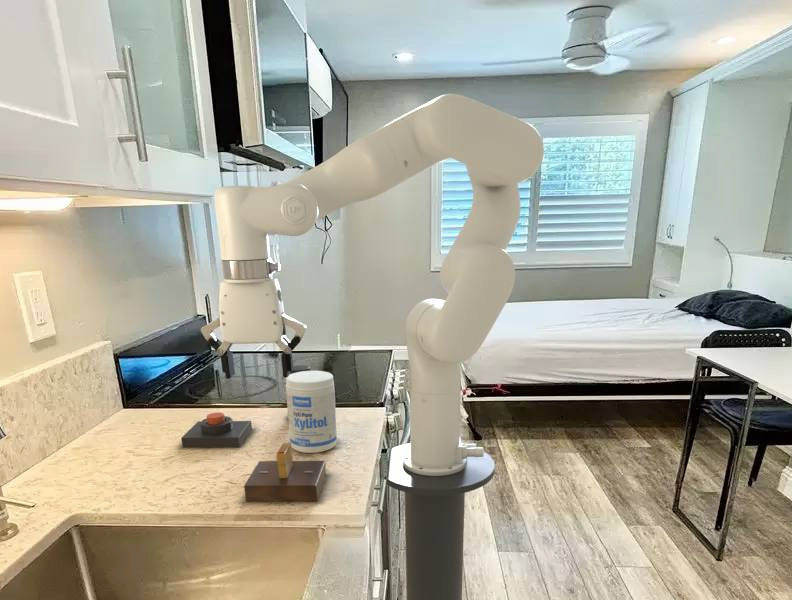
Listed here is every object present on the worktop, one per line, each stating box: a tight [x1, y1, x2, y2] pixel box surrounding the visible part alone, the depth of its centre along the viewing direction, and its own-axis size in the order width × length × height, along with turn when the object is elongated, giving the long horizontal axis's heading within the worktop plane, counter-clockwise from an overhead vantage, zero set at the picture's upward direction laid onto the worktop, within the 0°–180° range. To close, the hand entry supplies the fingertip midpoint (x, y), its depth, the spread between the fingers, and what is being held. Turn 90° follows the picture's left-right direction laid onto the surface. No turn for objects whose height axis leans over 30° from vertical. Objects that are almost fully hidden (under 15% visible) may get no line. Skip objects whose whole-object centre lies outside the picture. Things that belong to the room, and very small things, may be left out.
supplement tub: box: [285, 370, 338, 454], centre depth 114 cm, size 10×10×15 cm
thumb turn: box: [276, 442, 294, 478], centre depth 97 cm, size 5×1×5 cm, turn 177°
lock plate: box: [243, 460, 327, 503], centre depth 99 cm, size 12×10×3 cm
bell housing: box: [180, 415, 253, 449], centre depth 122 cm, size 12×10×4 cm
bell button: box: [206, 412, 225, 425], centre depth 121 cm, size 4×4×2 cm
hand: (258, 375), depth 97 cm, fingers open, 9 cm apart
